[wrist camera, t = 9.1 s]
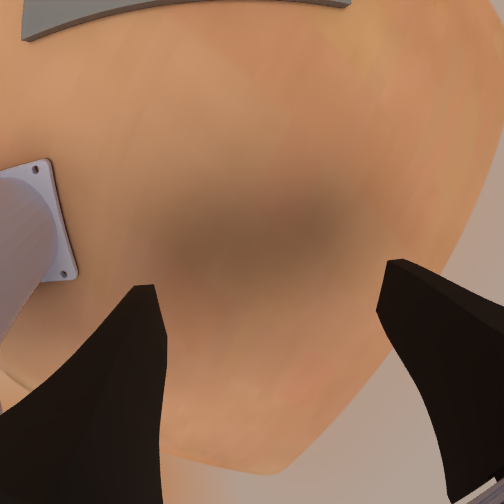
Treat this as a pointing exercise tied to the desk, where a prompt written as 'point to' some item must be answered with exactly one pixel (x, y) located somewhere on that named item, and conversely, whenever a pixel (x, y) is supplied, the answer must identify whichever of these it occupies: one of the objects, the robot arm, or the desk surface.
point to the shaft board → (95, 12)
